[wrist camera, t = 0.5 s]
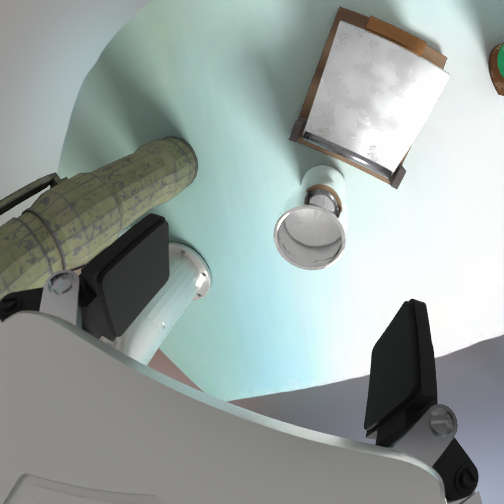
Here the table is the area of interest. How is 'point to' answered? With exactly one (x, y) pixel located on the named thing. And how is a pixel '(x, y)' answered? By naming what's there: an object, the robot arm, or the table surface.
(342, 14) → the plate
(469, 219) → the table surface
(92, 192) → the thermos
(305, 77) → the table surface
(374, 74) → the grey marble tile
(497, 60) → the food container
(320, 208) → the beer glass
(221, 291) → the table surface
